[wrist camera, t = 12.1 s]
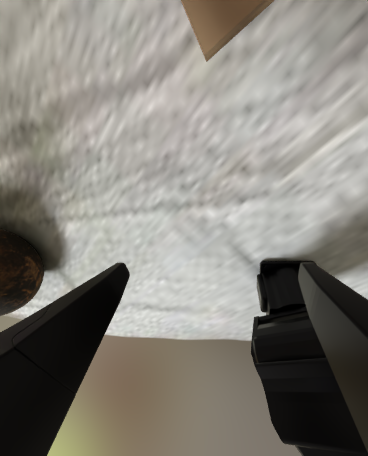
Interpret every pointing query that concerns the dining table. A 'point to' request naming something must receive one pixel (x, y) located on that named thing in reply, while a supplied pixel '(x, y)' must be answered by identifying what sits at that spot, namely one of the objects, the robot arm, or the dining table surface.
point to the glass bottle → (18, 272)
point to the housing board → (220, 20)
